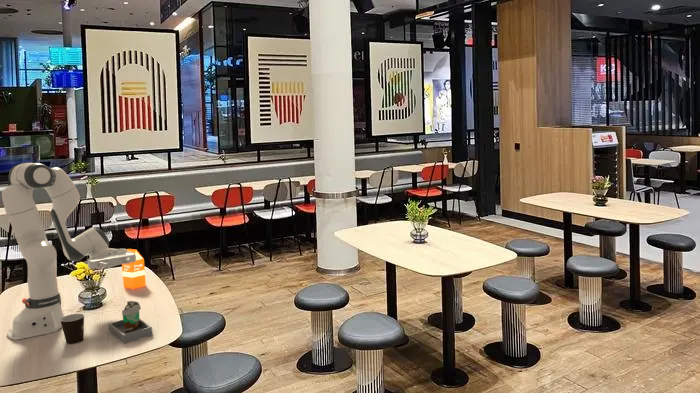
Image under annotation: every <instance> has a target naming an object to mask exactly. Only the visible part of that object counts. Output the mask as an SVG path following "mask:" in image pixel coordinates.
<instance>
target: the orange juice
mask: <svg viewBox="0 0 700 393" xmlns="http://www.w3.org/2000/svg"><path fill="white" fill-rule="evenodd" d="M127 251H130V252H133V253H134V254H135V255H136V262H132V263H130V264H121V268H122V273H121V274H122V282H123V288H125V289H130V290H131V289H132V290H134V289H139V288H143V287H146V286H147V282H146V271H145V270H146V269H145V259H144V257H143V256H142V255H141V254H140V252H139V251H138V250H137V249H133V248H127Z"/></svg>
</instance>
